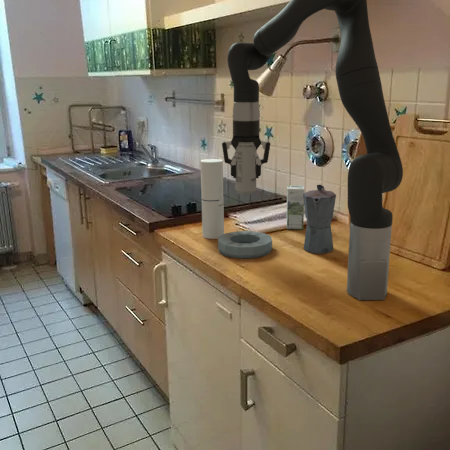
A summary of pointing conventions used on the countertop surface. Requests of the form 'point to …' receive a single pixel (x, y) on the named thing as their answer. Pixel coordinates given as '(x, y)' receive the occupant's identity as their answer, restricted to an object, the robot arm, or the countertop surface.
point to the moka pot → (319, 220)
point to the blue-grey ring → (244, 244)
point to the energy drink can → (245, 168)
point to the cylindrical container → (212, 198)
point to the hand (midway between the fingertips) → (245, 177)
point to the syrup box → (295, 207)
